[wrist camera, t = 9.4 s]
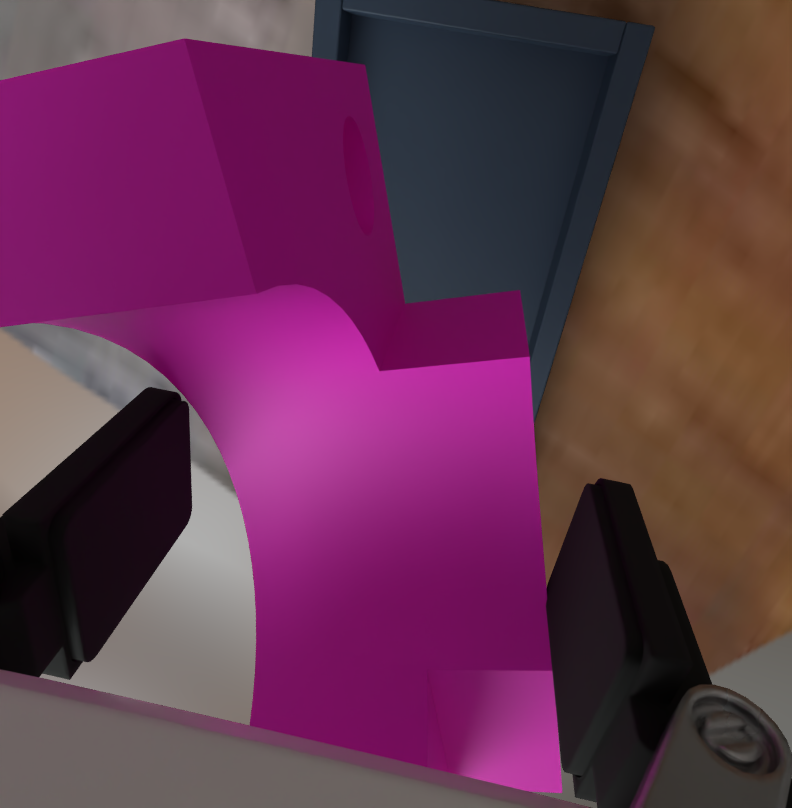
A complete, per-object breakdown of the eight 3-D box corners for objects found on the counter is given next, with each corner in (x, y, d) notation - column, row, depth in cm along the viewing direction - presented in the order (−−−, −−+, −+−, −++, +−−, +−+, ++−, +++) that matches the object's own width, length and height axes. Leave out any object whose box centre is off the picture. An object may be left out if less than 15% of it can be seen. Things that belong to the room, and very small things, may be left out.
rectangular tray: (640, 31, 18) (656, 26, 16) (499, 506, 27) (500, 535, 25) (333, -18, 19) (316, -29, 17) (296, 464, 28) (282, 489, 26)
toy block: (545, 631, 17) (579, 965, 11) (340, 633, 19) (259, 932, 12) (501, 37, 11) (518, -39, 4) (182, 101, 12) (-200, 125, 5)
